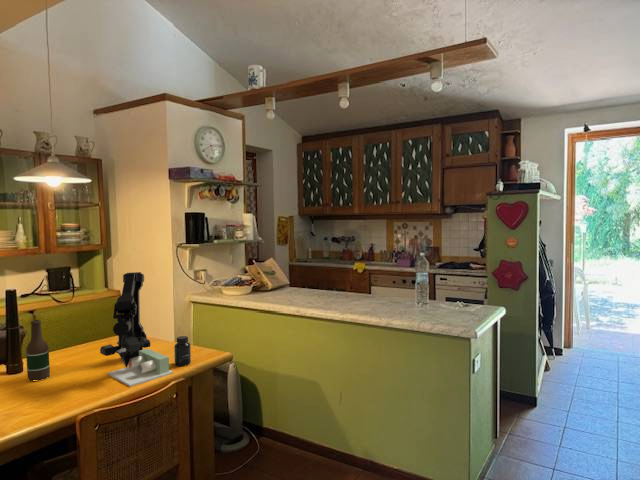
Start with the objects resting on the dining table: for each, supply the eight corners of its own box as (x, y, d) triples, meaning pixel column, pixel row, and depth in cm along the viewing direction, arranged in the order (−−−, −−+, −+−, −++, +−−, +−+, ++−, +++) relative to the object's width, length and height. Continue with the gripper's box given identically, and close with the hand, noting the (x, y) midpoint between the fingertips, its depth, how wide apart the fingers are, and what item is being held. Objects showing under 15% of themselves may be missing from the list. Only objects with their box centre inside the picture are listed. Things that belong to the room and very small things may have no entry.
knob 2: (165, 364, 187) (165, 355, 187) (170, 366, 185) (170, 356, 184) (137, 372, 178) (137, 362, 178) (142, 374, 175) (141, 365, 175)
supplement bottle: (186, 367, 189) (185, 339, 188) (171, 366, 191) (170, 339, 190) (193, 361, 196) (192, 335, 195) (179, 360, 197) (178, 334, 196)
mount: (107, 374, 182) (107, 358, 181) (149, 362, 195) (148, 347, 195) (130, 386, 168) (129, 369, 168) (172, 373, 182) (172, 357, 181)
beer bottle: (54, 375, 181) (51, 318, 179) (37, 382, 173) (33, 323, 172) (40, 373, 183) (37, 317, 182) (22, 380, 176) (19, 322, 174)
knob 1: (155, 359, 193) (154, 350, 193) (159, 361, 191) (159, 352, 190) (127, 367, 184) (126, 358, 184) (131, 369, 181) (131, 360, 181)
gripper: (111, 337, 169) (111, 377, 169) (156, 329, 183) (156, 366, 183) (99, 332, 176) (99, 370, 177) (144, 324, 190) (144, 360, 191)
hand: (126, 366), depth 182 cm, fingers closed
